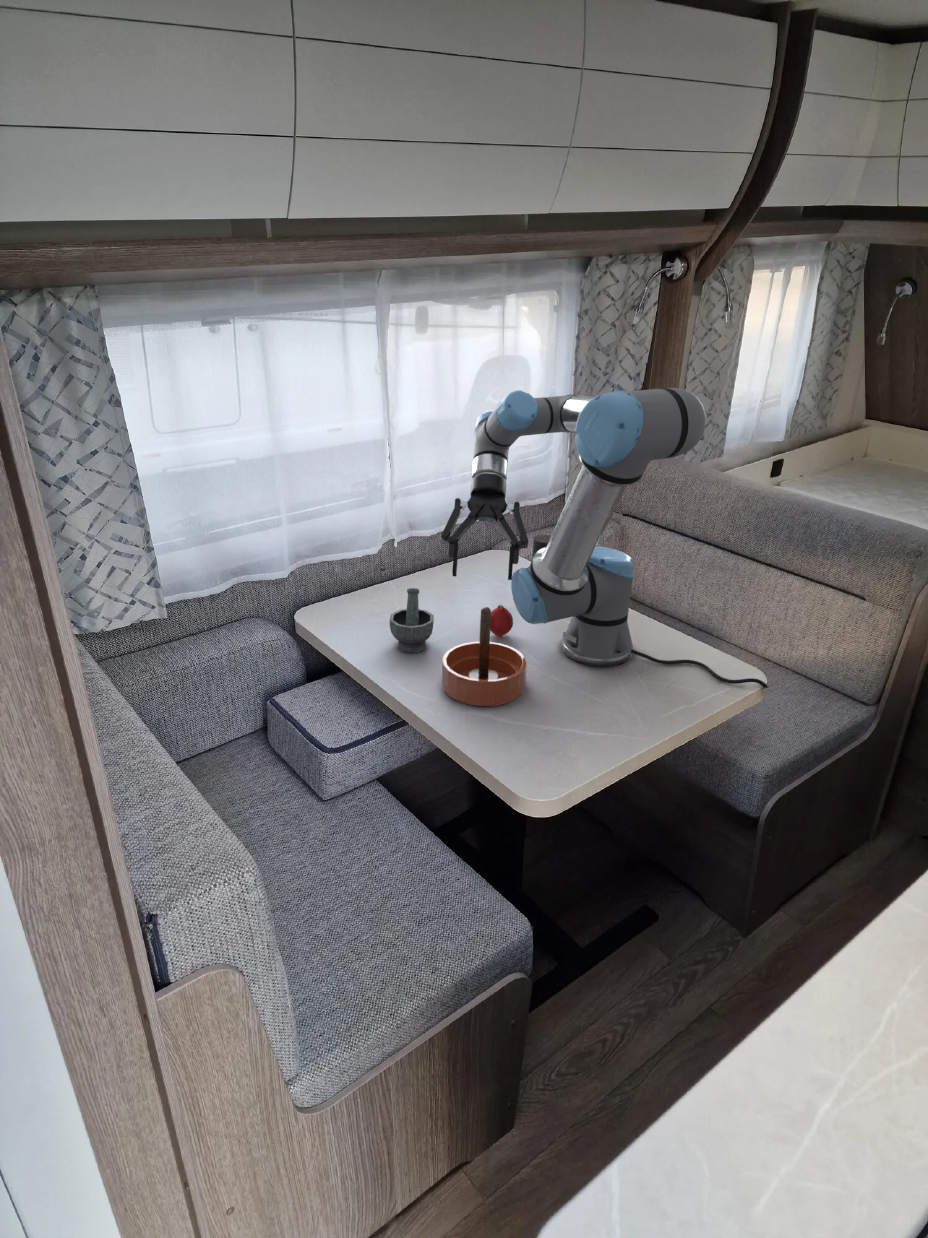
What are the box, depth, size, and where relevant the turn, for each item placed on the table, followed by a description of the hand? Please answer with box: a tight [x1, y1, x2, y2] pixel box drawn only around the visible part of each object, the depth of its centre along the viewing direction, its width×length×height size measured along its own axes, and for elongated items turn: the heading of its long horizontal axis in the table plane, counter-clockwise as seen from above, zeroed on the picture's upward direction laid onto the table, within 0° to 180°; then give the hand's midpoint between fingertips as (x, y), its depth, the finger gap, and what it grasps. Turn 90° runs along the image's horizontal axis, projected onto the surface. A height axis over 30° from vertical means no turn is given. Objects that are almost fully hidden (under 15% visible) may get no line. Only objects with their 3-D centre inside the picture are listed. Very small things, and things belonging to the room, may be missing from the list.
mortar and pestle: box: [389, 587, 435, 653], centre depth 178 cm, size 11×9×12 cm
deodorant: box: [531, 534, 552, 561], centre depth 204 cm, size 6×6×15 cm
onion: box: [490, 604, 514, 638], centre depth 183 cm, size 6×6×8 cm
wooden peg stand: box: [468, 606, 498, 680], centre depth 161 cm, size 6×6×17 cm
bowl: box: [441, 641, 528, 707], centre depth 163 cm, size 17×17×6 cm
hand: (482, 575), depth 167 cm, fingers open, 11 cm apart
